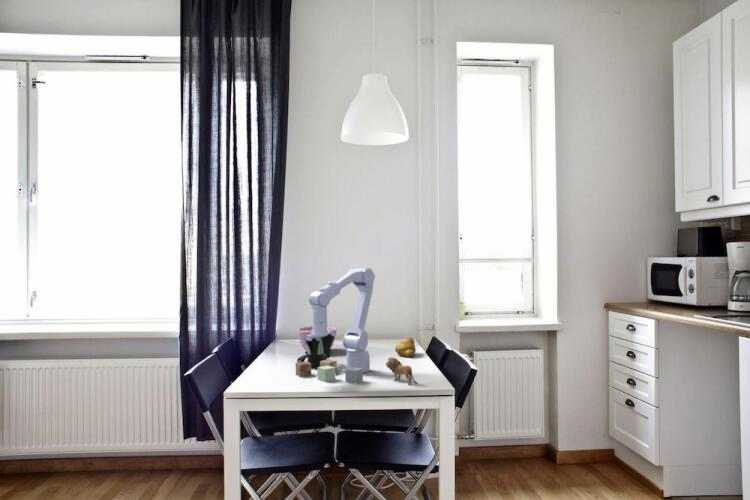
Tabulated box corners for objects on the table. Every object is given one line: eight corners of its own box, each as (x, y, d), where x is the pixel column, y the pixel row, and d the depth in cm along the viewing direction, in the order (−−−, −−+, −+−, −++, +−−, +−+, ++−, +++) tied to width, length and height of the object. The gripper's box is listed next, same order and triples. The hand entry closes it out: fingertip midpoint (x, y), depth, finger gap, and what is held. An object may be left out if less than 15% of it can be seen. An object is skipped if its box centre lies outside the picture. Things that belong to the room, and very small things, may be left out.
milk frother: (324, 369, 225) (323, 335, 225) (289, 368, 228) (289, 334, 228) (333, 362, 239) (332, 330, 239) (300, 361, 242) (300, 329, 242)
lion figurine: (383, 380, 206) (383, 357, 206) (392, 377, 210) (392, 355, 210) (413, 386, 197) (413, 362, 197) (422, 383, 201) (421, 360, 201)
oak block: (328, 370, 223) (328, 359, 223) (336, 372, 220) (336, 360, 220) (320, 373, 219) (320, 361, 219) (328, 374, 216) (328, 362, 216)
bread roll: (417, 358, 247) (417, 341, 247) (397, 358, 246) (397, 341, 246) (413, 352, 260) (413, 336, 260) (394, 353, 259) (394, 337, 259)
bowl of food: (292, 350, 269) (292, 327, 269) (329, 346, 277) (329, 325, 277) (304, 357, 251) (304, 333, 251) (342, 353, 259) (342, 330, 259)
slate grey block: (351, 379, 208) (351, 367, 208) (362, 381, 206) (362, 368, 205) (345, 382, 203) (345, 369, 203) (356, 384, 201) (356, 371, 201)
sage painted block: (327, 377, 211) (327, 365, 211) (335, 380, 208) (335, 367, 208) (317, 380, 208) (317, 367, 208) (325, 382, 204) (325, 369, 204)
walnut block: (307, 373, 219) (306, 361, 219) (311, 375, 215) (311, 363, 215) (295, 374, 217) (295, 362, 217) (299, 377, 212) (299, 365, 212)
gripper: (323, 318, 214) (323, 351, 215) (300, 323, 202) (300, 358, 202) (337, 319, 211) (337, 353, 211) (314, 324, 198) (315, 360, 199)
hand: (320, 355), depth 206 cm, fingers open, 7 cm apart
